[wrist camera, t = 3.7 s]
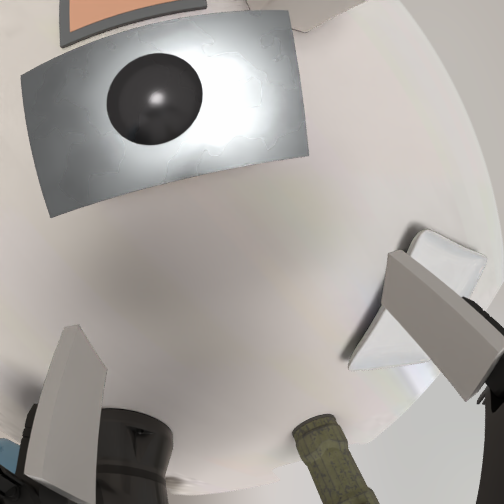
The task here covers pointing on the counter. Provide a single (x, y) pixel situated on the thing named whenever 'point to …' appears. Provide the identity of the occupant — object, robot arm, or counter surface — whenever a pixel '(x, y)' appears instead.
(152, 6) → the mat
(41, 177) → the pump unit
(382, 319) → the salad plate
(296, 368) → the counter surface
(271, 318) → the counter surface
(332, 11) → the jar
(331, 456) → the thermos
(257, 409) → the counter surface
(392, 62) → the counter surface
